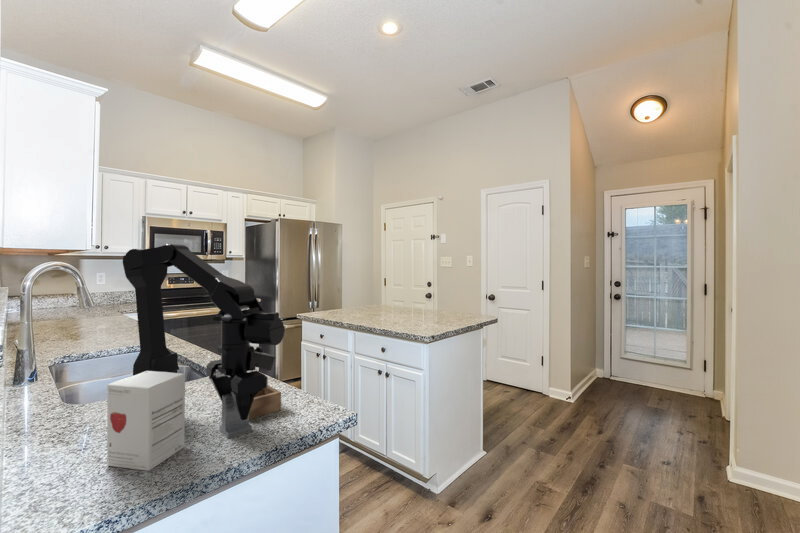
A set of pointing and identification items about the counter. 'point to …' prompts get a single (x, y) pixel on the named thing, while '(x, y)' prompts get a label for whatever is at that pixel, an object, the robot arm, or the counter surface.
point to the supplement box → (145, 419)
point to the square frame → (265, 402)
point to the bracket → (232, 419)
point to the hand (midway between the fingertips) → (235, 413)
